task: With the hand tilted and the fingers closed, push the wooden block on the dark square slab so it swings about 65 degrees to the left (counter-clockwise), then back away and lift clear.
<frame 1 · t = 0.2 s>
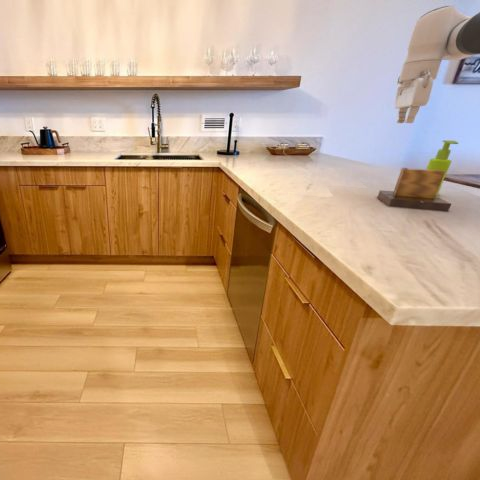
hand: (404, 123, 92), 26 cm above the counter, tool pointing down, fingers open, 8 cm apart
dark square slab: (409, 204, 99), on the counter
soap dispenser: (427, 195, 111), on the counter
wooden block: (417, 183, 96), point 8 cm above the counter, hinge at 0.0°
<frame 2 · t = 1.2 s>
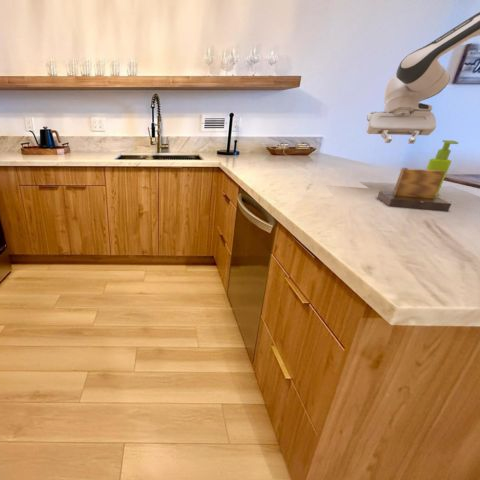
hand: (400, 142, 103), 19 cm above the counter, tool tilted 45°, fingers open, 6 cm apart
nothing on the counter moved.
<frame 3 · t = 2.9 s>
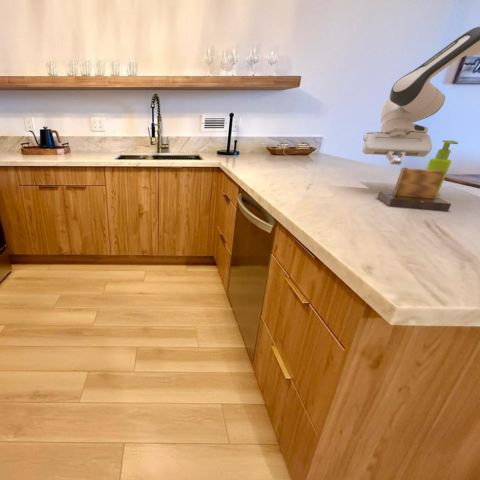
hand: (395, 163, 104), 12 cm above the counter, tool tilted 45°, fingers closed
nothing on the counter moved.
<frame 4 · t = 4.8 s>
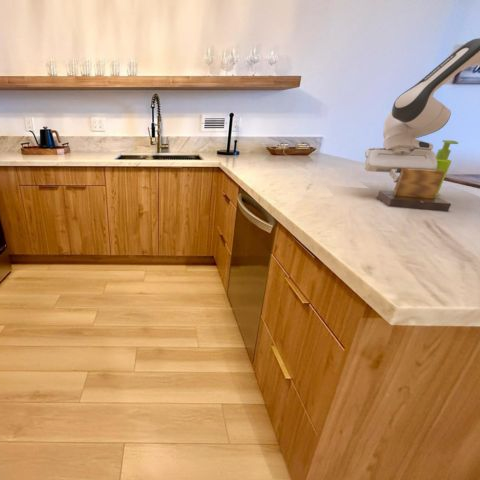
hand: (399, 181, 99), 7 cm above the counter, tool tilted 45°, fingers closed, pressing on wooden block
wooden block: (417, 183, 96), point 8 cm above the counter, hinge at 0.0°, touching gripper
everything else where it was.
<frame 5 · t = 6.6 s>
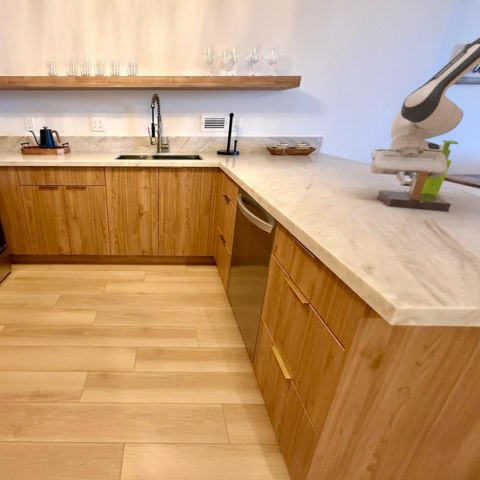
hand: (406, 185, 95), 7 cm above the counter, tool tilted 45°, fingers closed
wooden block: (417, 183, 96), point 8 cm above the counter, hinge at 73.4°, touching gripper
everything else where it was.
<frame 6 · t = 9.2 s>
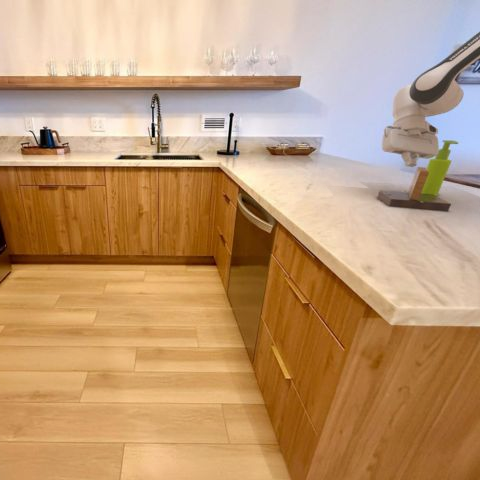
hand: (410, 166, 101), 12 cm above the counter, tool tilted 35°, fingers closed
wooden block: (417, 183, 96), point 8 cm above the counter, hinge at 73.5°
everything else where it was.
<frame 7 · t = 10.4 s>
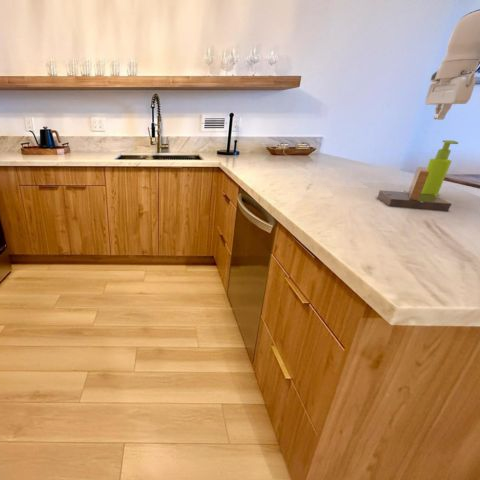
hand: (438, 119, 97), 27 cm above the counter, tool pointing down, fingers closed
nothing on the counter moved.
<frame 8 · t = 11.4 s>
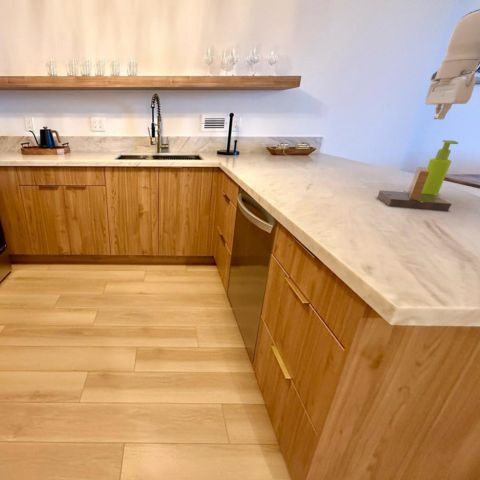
hand: (438, 119, 97), 27 cm above the counter, tool pointing down, fingers closed
nothing on the counter moved.
at the end: wooden block at +74° (first picture: +0°); soap dispenser moved 0.2 cm from its start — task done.
